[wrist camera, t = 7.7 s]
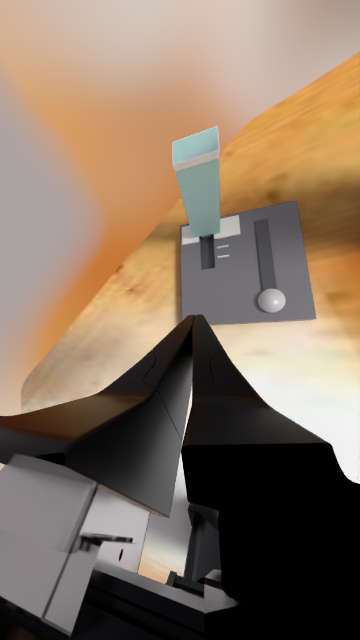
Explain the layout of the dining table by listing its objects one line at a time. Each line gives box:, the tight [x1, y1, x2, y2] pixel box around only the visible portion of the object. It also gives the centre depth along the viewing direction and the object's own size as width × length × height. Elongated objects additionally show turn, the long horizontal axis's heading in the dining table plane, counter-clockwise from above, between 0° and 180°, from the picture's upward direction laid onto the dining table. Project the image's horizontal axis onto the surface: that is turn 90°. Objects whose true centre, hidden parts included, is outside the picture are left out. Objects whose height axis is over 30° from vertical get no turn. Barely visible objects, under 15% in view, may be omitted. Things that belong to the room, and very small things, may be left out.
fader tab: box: [172, 126, 220, 238], centre depth 19 cm, size 3×4×11 cm, turn 91°
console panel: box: [180, 201, 316, 325], centre depth 22 cm, size 16×16×1 cm
